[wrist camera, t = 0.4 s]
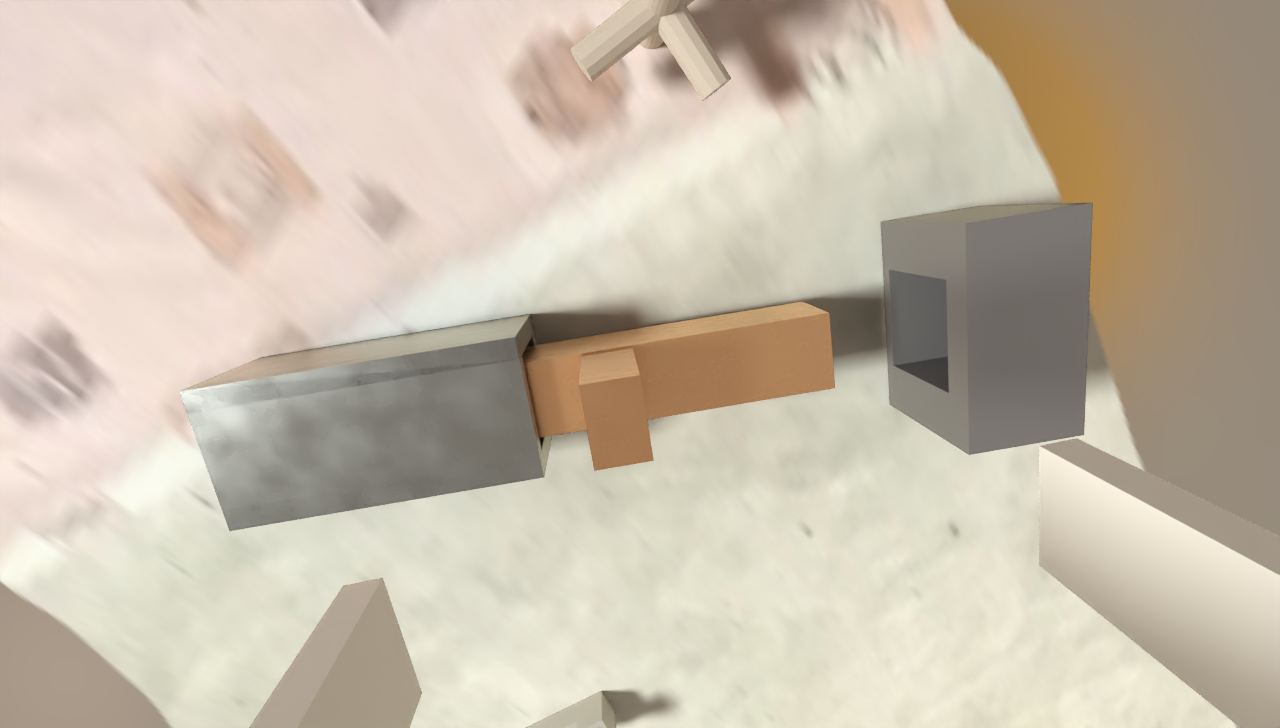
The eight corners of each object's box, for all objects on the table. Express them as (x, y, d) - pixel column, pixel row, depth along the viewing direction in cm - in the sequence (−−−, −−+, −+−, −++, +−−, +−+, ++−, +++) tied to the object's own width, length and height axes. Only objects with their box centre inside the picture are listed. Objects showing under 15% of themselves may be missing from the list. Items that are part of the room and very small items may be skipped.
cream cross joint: (768, 53, 35) (834, -9, 25) (633, 158, 36) (647, 137, 26) (670, -109, 33) (701, -245, 23) (528, 8, 34) (500, -76, 24)
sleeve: (260, 357, 37) (179, 391, 30) (530, 314, 38) (514, 336, 30) (297, 472, 39) (229, 530, 32) (553, 429, 40) (544, 477, 32)
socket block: (880, 221, 38) (965, 222, 29) (979, 206, 38) (1092, 202, 29) (889, 404, 41) (969, 454, 32) (980, 388, 41) (1084, 434, 33)
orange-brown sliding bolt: (322, 380, 36) (215, 443, 26) (802, 301, 37) (879, 333, 27) (341, 446, 37) (247, 532, 27) (807, 368, 38) (884, 422, 28)
